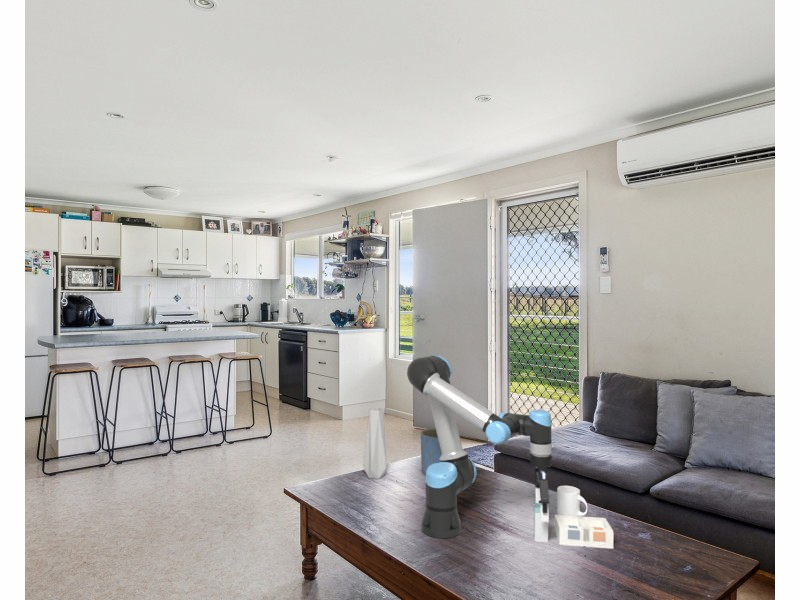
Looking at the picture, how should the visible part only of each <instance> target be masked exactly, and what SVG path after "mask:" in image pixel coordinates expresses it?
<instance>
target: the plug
mask: <svg viewBox="0 0 800 600" xmlns="http://www.w3.org/2000/svg"><path fill="white" fill-rule="evenodd" d="M533 539H534V542H538V543H549V522H541V521H540V503H536V502H533Z"/></svg>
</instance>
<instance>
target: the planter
mask: <svg viewBox="0 0 800 600" xmlns="http://www.w3.org/2000/svg"><path fill="white" fill-rule="evenodd" d="M441 455H442V453H441V448H440V444H439V440H438V436H437V431H436V427H434V428H433V427H432V428H427V429H423V430H421V431H420V459H421V471H422V474H423V475H424V476H425V477H426V470H427V468H428V467H429V466H430V465H432V464H434V463H439V462H440V460H439V458H440V457H441Z"/></svg>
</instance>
